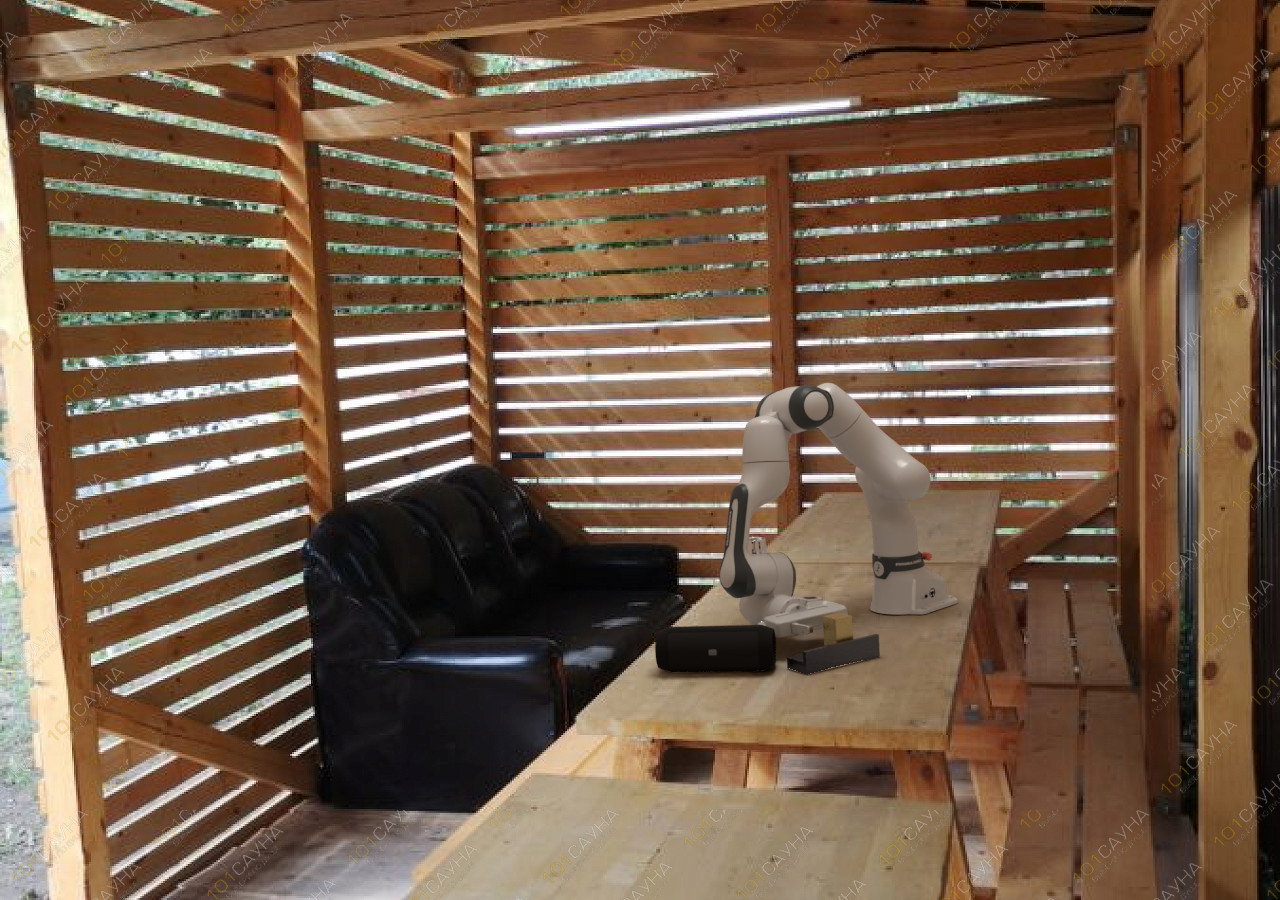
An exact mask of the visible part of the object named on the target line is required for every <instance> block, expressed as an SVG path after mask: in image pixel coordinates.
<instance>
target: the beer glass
mask: <svg viewBox="0 0 1280 900" xmlns="http://www.w3.org/2000/svg"><path fill="white" fill-rule="evenodd" d="M762 553H768V550H767V541H766V537H765V536H749V542H748V554H762Z"/></svg>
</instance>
